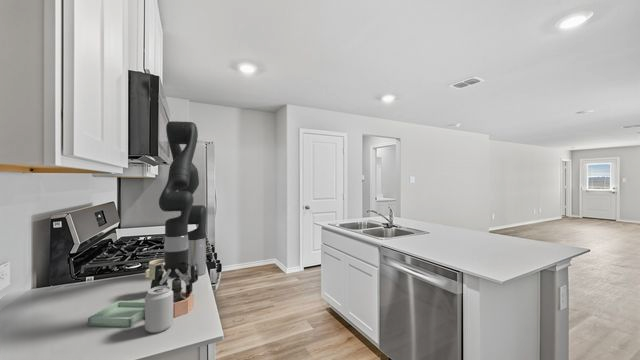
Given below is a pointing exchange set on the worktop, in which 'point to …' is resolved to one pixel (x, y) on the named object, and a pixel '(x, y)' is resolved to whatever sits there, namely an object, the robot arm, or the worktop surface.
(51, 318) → the worktop surface
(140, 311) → the tray
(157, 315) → the can
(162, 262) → the character mug
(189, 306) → the orange polygonal bowl
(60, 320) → the worktop surface
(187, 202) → the robot arm
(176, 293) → the grey lumpy tower
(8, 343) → the worktop surface
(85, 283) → the worktop surface
